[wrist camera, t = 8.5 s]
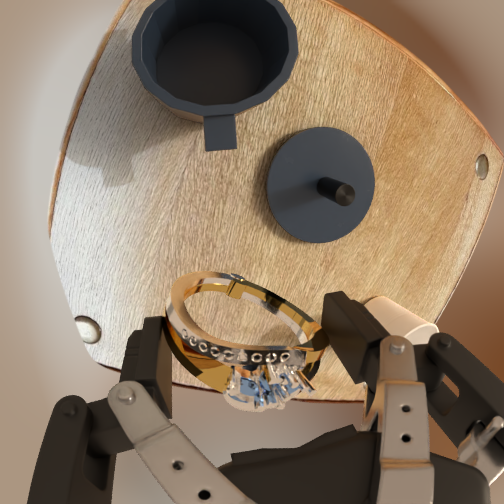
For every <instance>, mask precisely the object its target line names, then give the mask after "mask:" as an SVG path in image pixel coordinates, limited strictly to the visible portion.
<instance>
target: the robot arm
mask: <svg viewBox="0 0 504 504" xmlns="http://www.w3.org/2000/svg"><path fill="white" fill-rule="evenodd" d="M321 326H322V329H323V330H324V331H325V332H326V334H327V335H328V337H329V340H330V345H331V347H332V348H333V350H334V351H335V353H336V354H337V356H338V358H339V359H340V361H341V362H342V364H343V365H344V367H345V369H346V370H347V372H348V373H349V375H350V376H351V378H352V380H353V381H354V383H355V384H358V383H361V382H364V381H365V382H366V384H367V387H366V390H365V400H364V410H363V419H362V425H361V430H360V431H356V429H355V427H354V426H353V424H352V425H348V426H346V427H343V428H340V429H336V430H334V431H330V432H327V433H324V434H323V435H321V436H319V437H317V438H316V439H314V440H312V441H310V442H308V443H306V444H304V445H302V446H301V447H298V448H278V449H277V448H273V449H267V448H262V449H257V450H251V451H245V452H239V453H232V454H231V458H232V461H231V462H229V463H226V464H224V465H222V466H220V467H218V468H216V467H215V466H214V465H213V464H212V463H211V462H210V461H209V460H208V459H207V458H206V457H205V456H204V455H203V454H202V453H201V452H200V451H199V449H198V448H197V447H196V446H195V445H194V444H193V443H192V442H191V441H190V440H189V439H188V438H187V436H186V435H185V434H184V433H183V432H182V431H181V429H180V428H179V427H178V426H177V425H176V424H172V423H171V422H170V421H169V420H168V419H172V352H171V349H170V348H169V346H168V344H167V341H166V339H165V336H164V333H163V328H162V316H155V317H145V319H144V324H143V329H142V330H134V332H133V333H132V334H131V335H130V337H129V338H128V341H127V346H126V350H125V357H124V360H123V365H122V370H121V375H120V381H119V383H118V384H116V385H115V386H114V387H113V388H112V389H111V390H110V391H109V393H108V397H107V398H104V399H102V400H98V401H94V402H90V403H86V402H85V400H84V399H83V398H81V397H79V396H76V395H70V396H66V397H63V398H62V399H60V400H59V401H58V402H57V403H56V405H55V407H54V409H53V412H52V415H51V417H50V420H49V423H48V426H47V429H46V432H45V436H44V439H43V442H42V445H41V448H40V452H39V455H38V459H37V462H36V466H35V470H34V474H33V478H32V482H31V487H30V492H29V496H28V501H27V504H111V500H112V489H113V479H114V471H115V463H116V455H117V453H120V452H124V451H127V450H131V449H135V450H136V452H137V453H138V455H139V456H140V458H141V459H142V461H143V462H144V463H145V465H146V466H147V468H148V469H149V471H150V472H151V473H152V475H153V476H154V477H155V479H156V480H157V482H158V483H159V484H160V485H161V487H162V488H163V489H164V491H165V492H166V493H167V494H168V496H169V497H170V498H171V499H172V500H173V502H174V503H175V504H491V501H490V487H489V485H490V484H491V483H492V482H493V481H494V480H495V479H496V478H497V477H498V476H499V475H500V474H501V473H502V472H503V471H504V383H503V382H502V381H501V380H500V379H499V378H498V377H496V375H494V374H493V373H492V372H491V371H490V370H489V369H488V368H487V367H486V366H484V364H483V363H482V362H480V361H479V360H478V359H477V358H476V357H475V356H474V355H473V354H472V353H471V352H469V351H468V350H467V349H466V348H465V347H464V346H463V345H462V344H460V343H459V342H458V341H457V340H456V339H455V338H454V337H452V336H451V335H449V334H446V333H434V334H432V335H431V336H430V338H429V341H428V344H416V345H412V343H411V342H410V341H409V340H408V339H406V338H404V337H402V336H397V335H390V333H389V332H388V331H387V330H386V329H385V328H384V327H383V326H382V325H381V324H380V322H379V321H378V320H377V319H376V318H374V316H373V315H372V314H371V313H369V310H368V309H367V308H366V307H365V306H364V305H363V304H361V303H359V302H357V301H355V300H350V299H349V298H348V297H347V295H346V294H345V293H344V292H343V291H338V292H332V293H327V294H325V296H324V302H323V311H322V320H321ZM445 375H446V376H448V377H449V379H450V380H451V381H452V382H453V383H454V384H455V385H456V386H457V387H458V389H459V397H457V396H456V395H455V394H454V393H453V392H452V391H451V390H450V389H449V388H448V387H447V385H446V384H445V383H444V382H443V381H442V380H443V378H444V376H445ZM428 413H429V414H430V415H431V417H432V418H433V419H434V420H435V422H436V423H437V424H438V425H439V426H440V427H441V429H442V430H443V431H444V432H445V434H446V435H447V436H448V437H449V439H450V440H451V441H452V442H453V444H454V445H455V446H456V447H457V449H458V458H457V460H456V461H455V460H452V459H449V458H446V457H443V456H440V455H437V454H434V453H432V452H429V424H428Z"/></svg>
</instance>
